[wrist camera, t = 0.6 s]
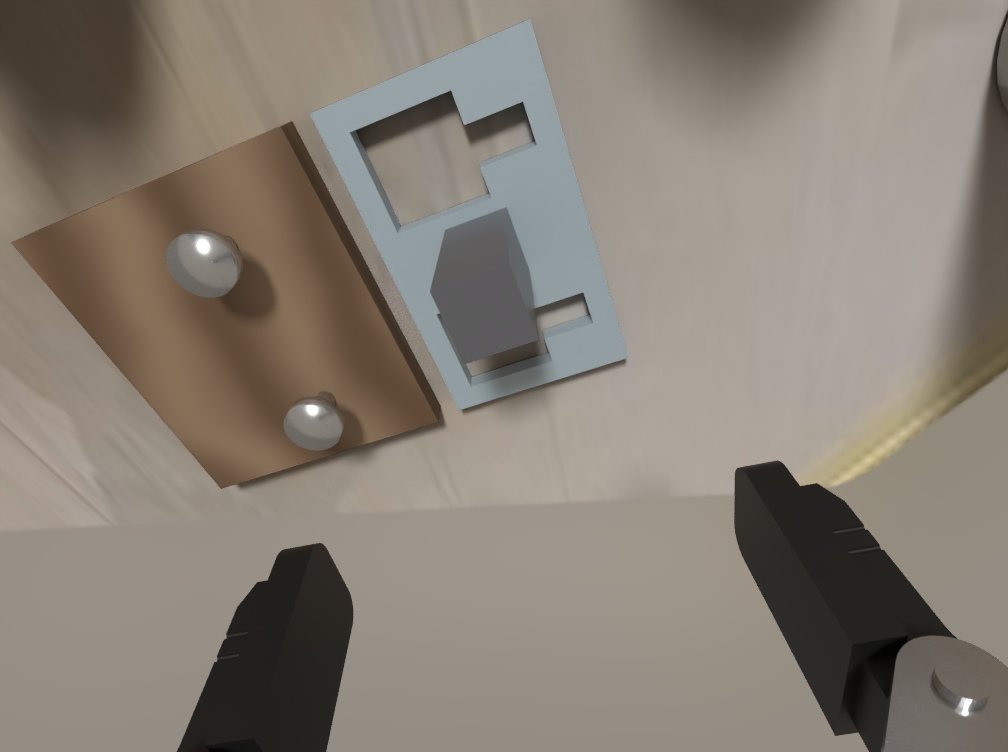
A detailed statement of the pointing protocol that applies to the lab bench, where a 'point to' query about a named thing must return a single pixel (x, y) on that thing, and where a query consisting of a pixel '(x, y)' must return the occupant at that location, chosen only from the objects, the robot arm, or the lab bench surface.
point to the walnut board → (240, 310)
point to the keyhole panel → (506, 183)
